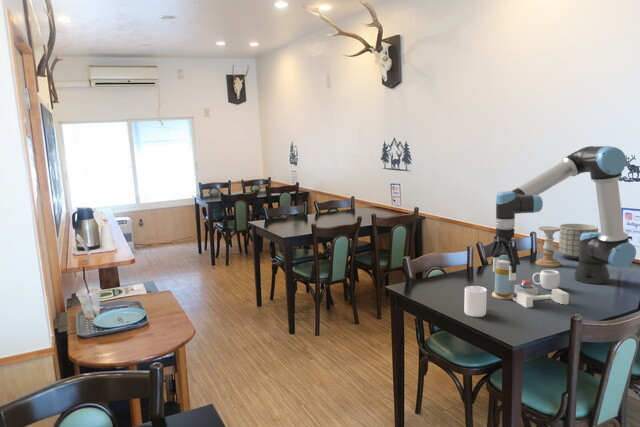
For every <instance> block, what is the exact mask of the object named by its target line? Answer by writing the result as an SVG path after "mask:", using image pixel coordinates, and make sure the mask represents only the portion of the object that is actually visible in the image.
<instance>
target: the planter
mask: <svg viewBox="0 0 640 427" xmlns="http://www.w3.org/2000/svg"><path fill="white" fill-rule="evenodd" d="M559 228H560V231H559V235H558V236H559V238H558V239H559V240H558V253H559V254H561V255H563V256H565V257H566V258H569V259H571V260H575V261H579V247H580V236H581V234H582V233H588V232H599V227H598V226H596V225H593V224H587V223H562V224H560V225H559Z"/></svg>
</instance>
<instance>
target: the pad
mask: <svg viewBox="0 0 640 427" xmlns="http://www.w3.org/2000/svg"><path fill="white" fill-rule="evenodd" d="M514 294H515V293H512V294H511V295H510V296H506V297H505V296H498V295H496V294H495V291H493V292H492V293H491V296H492V297H493V298H495V299H497V300H498V299H499V300H513V297H515V295H514Z"/></svg>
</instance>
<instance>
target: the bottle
mask: <svg viewBox="0 0 640 427" xmlns="http://www.w3.org/2000/svg"><path fill="white" fill-rule="evenodd" d="M509 265H510V261H509V259H503V258H502V259H501V258H500V260H497V268H496V271H495V272H494V273H495V274H494V292H495V294H496V295H498V296H505V297H506V296H510V295H511V294H513V293H512V292H513V280H509Z"/></svg>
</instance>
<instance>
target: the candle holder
mask: <svg viewBox="0 0 640 427" xmlns="http://www.w3.org/2000/svg"><path fill="white" fill-rule="evenodd" d="M538 231H541V232H543V233H544V234H545V236H544V237H543V240H544V243H543V247H542V248H543V250H542V252H541V254H543V258H539V259H538V260H536V261H535V263H534V264H535V265H536V266H538V267H543V268H559V267H561V262H560V261H558V260H557V259H555V258H554V254H555V251H554V250H555V245H554V240H555V238H554V237H553V236H554V234H555V233H556V232H557V233H558V232H560V227H557V226H548V225H547V226H544V225H543V226H540V227H538Z"/></svg>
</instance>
